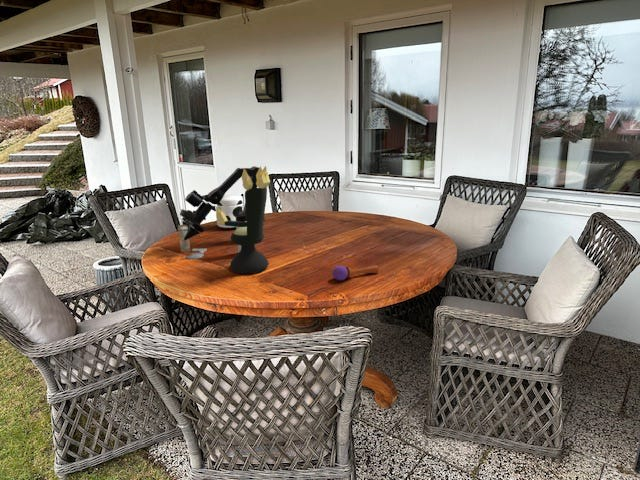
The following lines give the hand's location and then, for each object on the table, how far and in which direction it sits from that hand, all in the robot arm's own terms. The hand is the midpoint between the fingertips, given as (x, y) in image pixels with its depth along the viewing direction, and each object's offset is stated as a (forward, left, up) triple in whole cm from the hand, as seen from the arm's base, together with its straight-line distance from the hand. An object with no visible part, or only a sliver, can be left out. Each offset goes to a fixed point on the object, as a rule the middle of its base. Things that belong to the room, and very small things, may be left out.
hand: (181, 237), depth 209 cm
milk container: (-1, -49, -7) cm, 49 cm away
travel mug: (-33, -3, -7) cm, 34 cm away
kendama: (-91, +14, -7) cm, 92 cm away
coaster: (-11, +6, -7) cm, 14 cm away
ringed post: (-1, -1, -7) cm, 7 cm away
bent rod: (-8, -1, -7) cm, 10 cm away
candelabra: (-46, +15, -7) cm, 49 cm away
